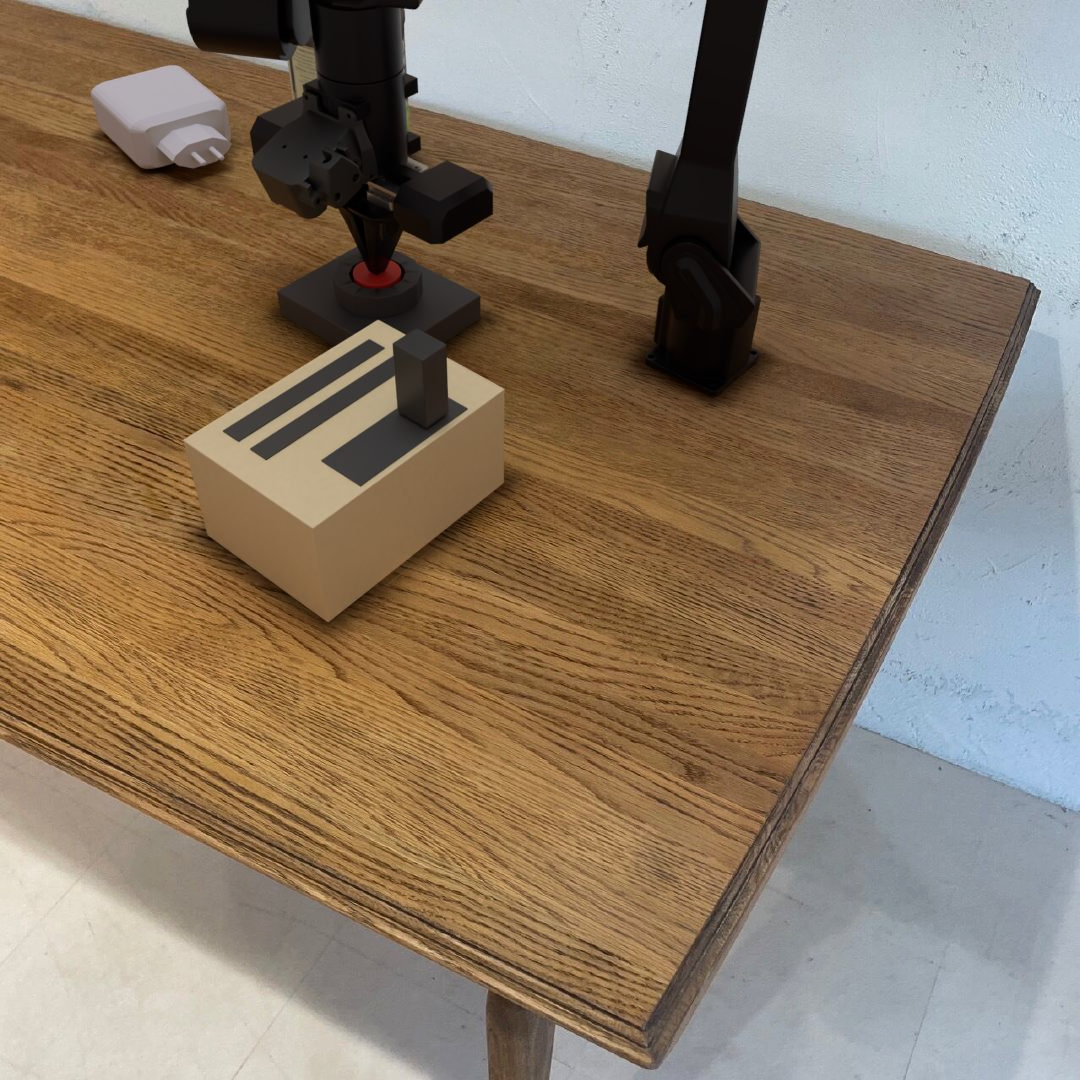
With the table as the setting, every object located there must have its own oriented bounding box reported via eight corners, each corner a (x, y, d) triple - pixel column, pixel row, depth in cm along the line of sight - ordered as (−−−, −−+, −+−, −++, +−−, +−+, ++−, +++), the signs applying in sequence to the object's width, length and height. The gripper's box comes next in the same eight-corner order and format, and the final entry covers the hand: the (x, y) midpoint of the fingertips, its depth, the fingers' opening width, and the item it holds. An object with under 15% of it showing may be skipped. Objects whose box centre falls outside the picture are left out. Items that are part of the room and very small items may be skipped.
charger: (170, 202, 100) (100, 134, 108) (264, 172, 104) (191, 109, 112) (158, 151, 96) (88, 85, 104) (257, 122, 100) (181, 61, 108)
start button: (412, 289, 87) (410, 270, 86) (378, 310, 85) (376, 290, 84) (378, 272, 89) (376, 252, 88) (345, 292, 87) (342, 272, 86)
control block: (481, 318, 89) (480, 274, 86) (390, 378, 84) (387, 333, 81) (372, 262, 94) (368, 218, 91) (280, 314, 89) (272, 270, 86)
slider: (449, 412, 68) (446, 344, 65) (426, 428, 67) (422, 360, 63) (420, 395, 69) (416, 327, 66) (397, 411, 68) (391, 343, 65)
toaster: (504, 483, 76) (505, 387, 70) (328, 623, 67) (312, 527, 62) (386, 413, 81) (377, 317, 75) (207, 535, 72) (181, 438, 66)
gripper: (169, 62, 74) (212, 269, 85) (373, 157, 66) (390, 372, 77) (298, 12, 80) (322, 212, 91) (498, 94, 72) (498, 301, 84)
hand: (377, 271), depth 86 cm, fingers closed, pressing on start button
